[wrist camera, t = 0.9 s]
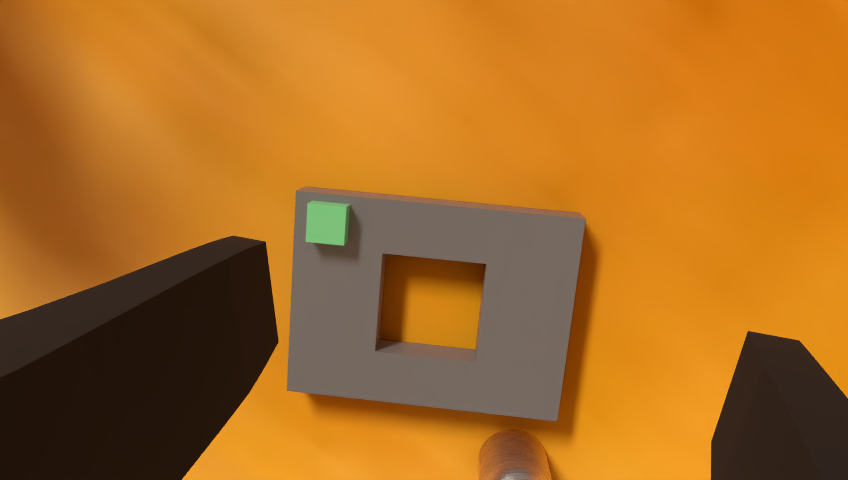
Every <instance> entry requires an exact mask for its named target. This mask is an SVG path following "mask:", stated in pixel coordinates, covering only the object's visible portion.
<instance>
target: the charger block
mask: <svg viewBox="0 0 848 480" xmlns="http://www.w3.org/2000/svg"><path fill="white" fill-rule="evenodd" d="M585 221H586V219H585V218H584V217H583V216H582V215H581V214H580V213H574V212H564V211H553V210H543V209H533V208H522V207H512V206H501V205H491V204H481V203H470V202H460V201H450V200H439V199H429V198H419V197H408V196H398V195H387V194H377V193H367V192H356V191H346V190H336V189H325V188H315V187H303V188H301V189H299V190H297V191H296V205H295V227H294V249H293V270H292V292H291V314H290V335H289V357H288V378H287V391H294V392H302V393H311V394H320V395H329V396H338V397H346V398H355V399H364V400H373V401H381V402H390V403H399V404H408V405H416V406H425V407H434V408H443V409H452V410H460V411H469V412H478V413H487V414H495V415H504V416H513V417H522V418H531V419H539V420H548V421H557V420H558V413H559V406H560V399H561V392H562V385H563V378H564V370H565V363H566V356H567V349H568V342H569V335H570V328H571V321H572V314H573V306H574V299H575V292H576V285H577V278H578V271H579V264H580V257H581V250H582V242H583V235H584V228H585ZM386 254H393V255H403V256H413V257H422V258H432V259H442V260H452V261H462V262H472V263H482V264H485V268H484V277H483V286H482V295H481V305H480V314H479V323H478V332H477V341H476V350H472V349H463V348H453V347H444V346H435V345H426V344H417V343H408V342H398V341H389V340H380V329H381V316H382V303H383V290H384V277H385V264H386Z"/></svg>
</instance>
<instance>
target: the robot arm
mask: <svg viewBox="0 0 848 480" xmlns="http://www.w3.org/2000/svg"><path fill="white" fill-rule="evenodd" d="M278 342H279V341H278V334H277V326H276V318H275V311H274V303H273V295H272V287H271V280H270V272H269V264H268V256H267V249H266V242H264V241H259V240H253V239H248V238H243V237H237V236H230V237H227V238H223V239H219V240H216V241H213V242H210V243H207V244H204V245H202V246H199V247H196V248H193V249H191V250H188V251H185V252H183V253H180V254H177V255H175V256H172V257H170V258H167V259H165V260H162V261H160V262H157V263H154V264H152V265H149V266H147V267H144V268H142V269H139V270H137V271H134V272H131V273H129V274H126V275H124V276H121V277H119V278H116V279H114V280H111V281H108V282H106V283H103V284H101V285H98V286H95V287H92V288H90V289H87V290H84V291H81V292H78V293H76V294H73V295H70V296H67V297H64V298H62V299H59V300H56V301H53V302H51V303H48V304H45V305H42V306H39V307H37V308H34V309H31V310H28V311H25V312H22V313H19V314H16V315H13V316H10V317H7V318H3V319H0V480H182V479H183V477H184V476H185V475H186V474H187V472H188V471H189V470H190V468H191V467H192V466H193V465H194V463H195V462H196V461H197V460H198V458H199V457H200V456H201V454H202V453H203V452H204V451H205V449H206V448H207V447H208V446H209V444H210V443H211V442H212V441H213V439H214V438H215V437H216V435H217V434H218V433H219V432H220V430H221V429H222V428H223V426H224V425H225V424H226V423H227V421H228V420H229V419H230V417H231V416H232V415H233V414H234V412H235V411H236V410H237V408H238V407H239V406H240V404H241V403H242V402H243V400H244V399H245V398H246V396H247V395H248V394H249V392H250V391H251V389H252V387H253V386H254V384H255V382H256V381H257V379H258V377H259V376H260V374H261V373H262V371H263V369H264V367H265V366H266V364H267V362H268V360H269V358H270V357H271V355H272V353H273V351H274V349H275V347H276V346H277V344H278ZM711 480H848V398H847V397H846V396H845V395H844V393H843V392H842V391H841V390H840V389H839V387H838V386H837V385H836V384H835V382H834V381H833V380H832V379H831V378H830V376H829V375H828V374H827V373H826V372H825V370H824V369H823V368H822V367H821V366H820V364H819V363H818V362H817V361H816V360H815V358H814V357H813V356H812V355H811V354H810V352H809V351H808V350H807V349H806V348H805V347H804V346H803V344H802V343H801V342H800V341H799V340H793V339H788V338H783V337H777V336H772V335H766V334H761V333H756V332H750V331H748V333H747V336H746V339H745V342H744V345H743V348H742V351H741V354H740V357H739V360H738V363H737V366H736V369H735V372H734V375H733V378H732V381H731V384H730V387H729V390H728V393H727V396H726V399H725V402H724V405H723V408H722V411H721V414H720V417H719V420H718V423H717V426H716V429H715V432H714V435H713V438H712V441H711Z"/></svg>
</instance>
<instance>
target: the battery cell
mask: <svg viewBox="0 0 848 480" xmlns="http://www.w3.org/2000/svg"><path fill="white" fill-rule="evenodd" d="M479 480H552V478H551V474H550V469H549V464H548V460H547V455H546V452H545V449H544V447H543V445H542V444H541V443H540V442H539V441H538V439H536V438H535V437H534V436H532V435H531V434H529V433H527V432H524V431H520V430H505V431H501V432H498V433H496V434H494V435H493V436H491V437H490V438H489V439H488V440H487V441H486V442H485V443H484V444H483V446H482V448H481V450H480V453H479Z"/></svg>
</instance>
